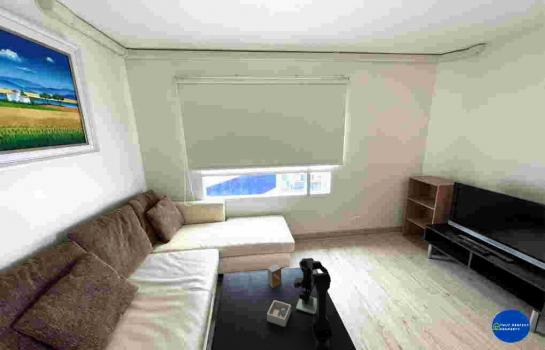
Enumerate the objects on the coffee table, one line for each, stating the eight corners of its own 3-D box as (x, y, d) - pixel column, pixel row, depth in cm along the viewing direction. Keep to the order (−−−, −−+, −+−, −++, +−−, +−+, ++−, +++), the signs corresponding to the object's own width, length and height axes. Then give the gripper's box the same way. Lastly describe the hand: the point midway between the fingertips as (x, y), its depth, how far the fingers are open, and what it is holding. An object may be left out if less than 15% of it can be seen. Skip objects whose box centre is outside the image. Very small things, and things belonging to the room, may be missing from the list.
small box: (272, 288, 150) (271, 272, 147) (267, 283, 155) (267, 267, 153) (281, 283, 154) (281, 267, 152) (276, 279, 160) (276, 263, 157)
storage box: (285, 327, 120) (284, 319, 119) (267, 321, 124) (266, 313, 123) (290, 311, 130) (290, 304, 129) (274, 306, 134) (274, 300, 133)
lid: (315, 316, 127) (315, 307, 126) (295, 310, 131) (295, 302, 130) (319, 301, 138) (319, 293, 136) (301, 296, 142) (300, 288, 141)
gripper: (299, 265, 142) (299, 286, 145) (290, 284, 125) (291, 307, 128) (315, 269, 138) (315, 290, 141) (309, 289, 121) (309, 312, 124)
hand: (307, 299), depth 134 cm, fingers open, 9 cm apart
